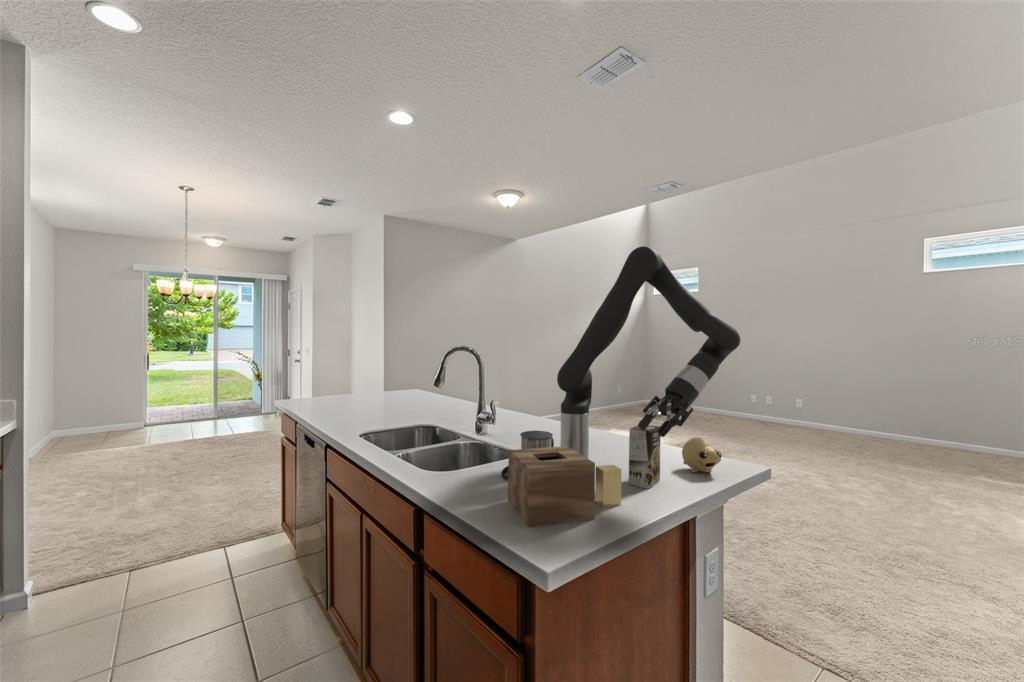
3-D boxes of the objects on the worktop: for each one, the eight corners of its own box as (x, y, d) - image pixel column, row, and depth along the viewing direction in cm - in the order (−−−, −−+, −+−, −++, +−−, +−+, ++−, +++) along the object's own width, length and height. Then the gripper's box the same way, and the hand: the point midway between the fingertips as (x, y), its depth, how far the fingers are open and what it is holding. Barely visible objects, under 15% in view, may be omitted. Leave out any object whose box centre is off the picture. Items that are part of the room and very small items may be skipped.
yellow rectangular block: (595, 501, 111) (595, 466, 111) (612, 499, 113) (613, 464, 112) (603, 507, 107) (603, 470, 107) (620, 505, 109) (621, 469, 109)
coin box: (508, 501, 111) (508, 450, 111) (566, 495, 115) (566, 446, 115) (528, 527, 95) (529, 468, 95) (594, 519, 100) (594, 463, 100)
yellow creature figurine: (698, 479, 129) (698, 443, 129) (676, 467, 141) (676, 434, 141) (727, 477, 131) (728, 442, 131) (703, 465, 143) (703, 433, 143)
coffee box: (650, 489, 120) (650, 431, 120) (627, 484, 124) (628, 428, 124) (661, 481, 127) (661, 426, 127) (639, 476, 131) (640, 423, 131)
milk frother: (550, 493, 116) (550, 438, 116) (493, 489, 119) (493, 435, 119) (556, 477, 130) (556, 427, 130) (504, 473, 133) (505, 425, 133)
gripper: (661, 374, 123) (626, 417, 119) (697, 378, 109) (657, 426, 106) (677, 392, 124) (642, 435, 121) (714, 398, 110) (676, 447, 107)
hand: (649, 431), depth 113 cm, fingers open, 8 cm apart
